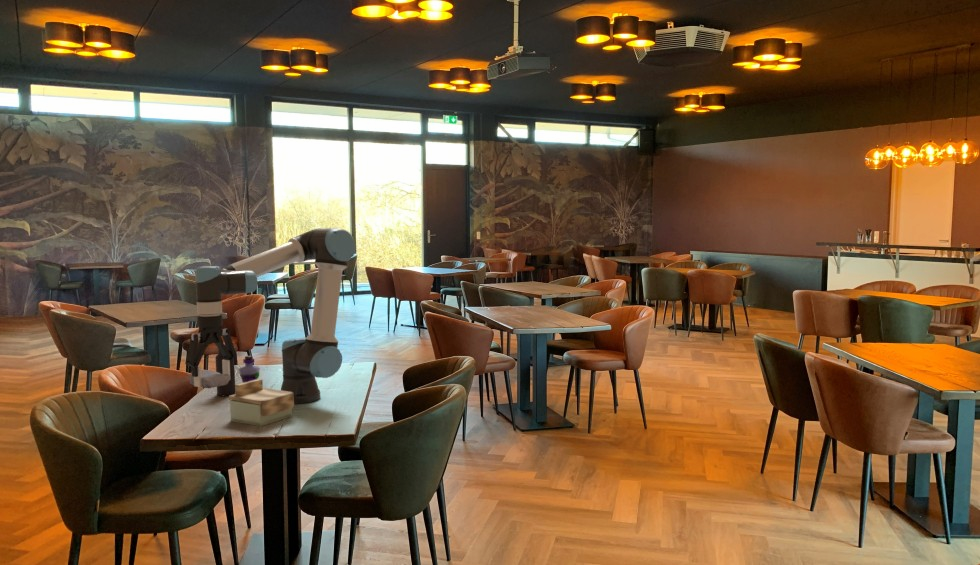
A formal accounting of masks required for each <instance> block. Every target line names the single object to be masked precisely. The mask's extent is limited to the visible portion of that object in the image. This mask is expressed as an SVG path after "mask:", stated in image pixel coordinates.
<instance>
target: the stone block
mask: <svg viewBox="0 0 980 565" xmlns="http://www.w3.org/2000/svg"><path fill="white" fill-rule="evenodd" d="M201 379H202V387H201V388H203V389H212V388H217V387H218V386H223V385H226V384H228V382H229V380H230V375H228V374H225V375H223V374H220V373H218V372H216V370H212V369H201ZM189 383H190V385H192V386H194V377H192V372H190V374H189Z"/></svg>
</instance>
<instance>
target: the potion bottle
mask: <svg viewBox="0 0 980 565" xmlns="http://www.w3.org/2000/svg"><path fill="white" fill-rule="evenodd" d="M242 363H243V364H244V366H243V367H240V368H238V372H239V377H241V383H244V382H248V381H252V380H256V379H259V377H260V369H261V367H260V366H257V365H253V364H254V363H255V359H254V358H253V355H246V356H244V359H243V360H242Z"/></svg>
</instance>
